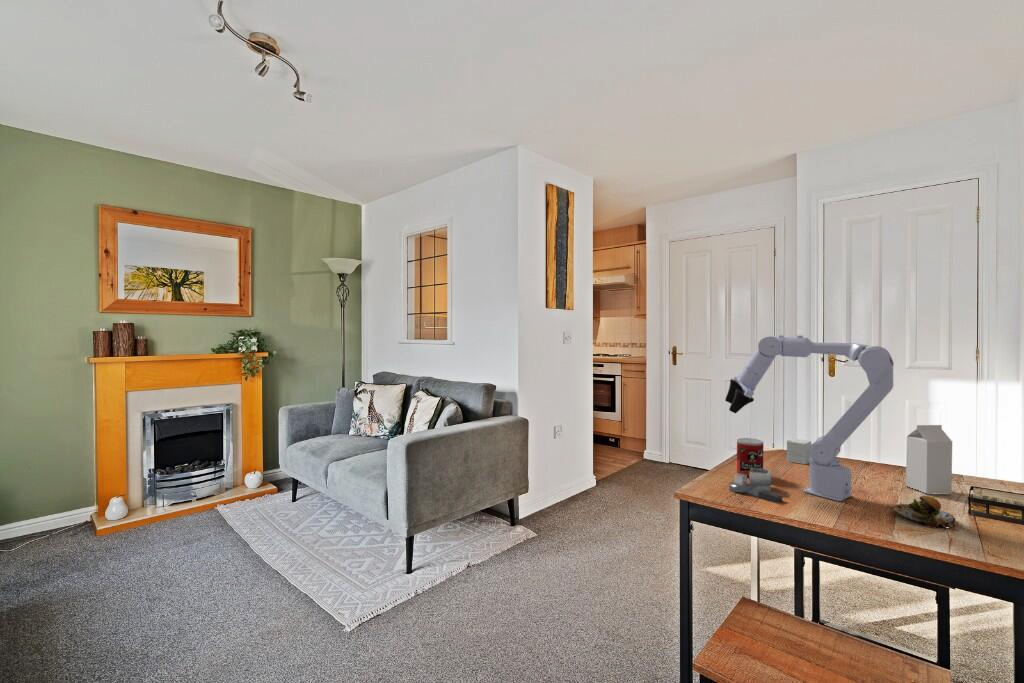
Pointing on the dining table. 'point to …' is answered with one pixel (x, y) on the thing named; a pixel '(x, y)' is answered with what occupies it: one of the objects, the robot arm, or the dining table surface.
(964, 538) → the dining table surface
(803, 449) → the skincare box
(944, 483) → the milk carton
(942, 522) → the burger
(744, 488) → the ratchet
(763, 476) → the socket
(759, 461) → the canned food
